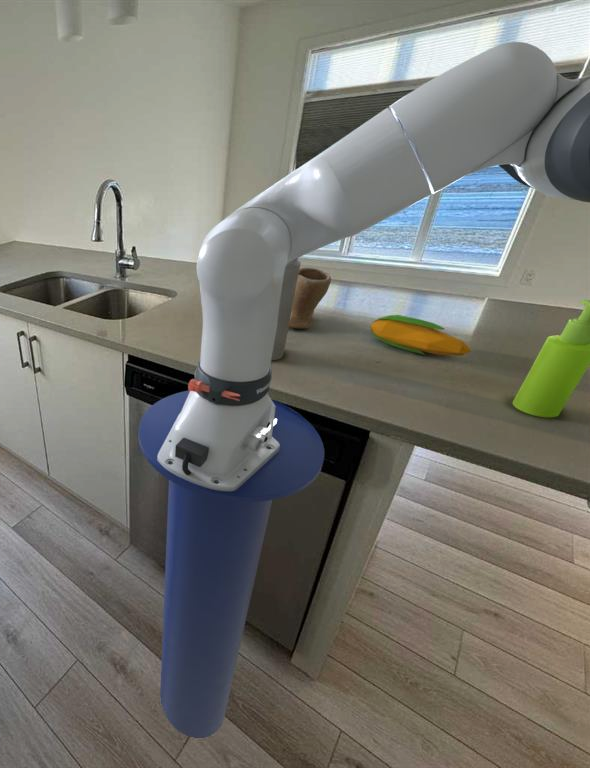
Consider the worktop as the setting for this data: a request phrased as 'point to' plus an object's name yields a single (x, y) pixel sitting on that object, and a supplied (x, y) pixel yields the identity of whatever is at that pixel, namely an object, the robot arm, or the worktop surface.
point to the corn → (417, 336)
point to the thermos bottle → (285, 307)
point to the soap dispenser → (557, 369)
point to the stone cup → (308, 296)
